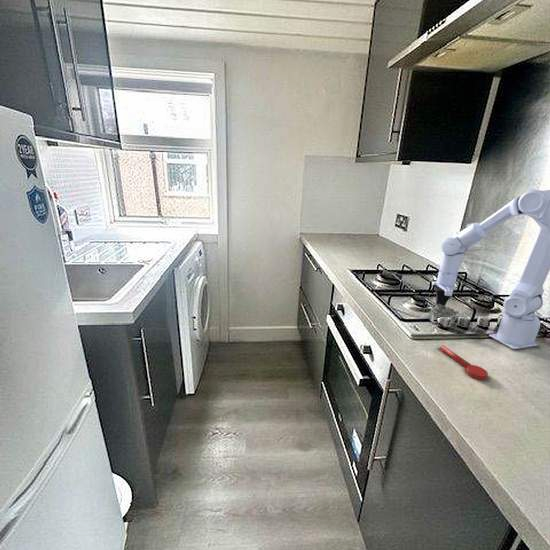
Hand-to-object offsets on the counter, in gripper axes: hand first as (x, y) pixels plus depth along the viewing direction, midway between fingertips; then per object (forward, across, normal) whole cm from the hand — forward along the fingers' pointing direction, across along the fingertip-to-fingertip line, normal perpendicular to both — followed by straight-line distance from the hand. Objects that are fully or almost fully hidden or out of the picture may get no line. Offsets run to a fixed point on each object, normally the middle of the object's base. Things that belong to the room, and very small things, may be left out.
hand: (439, 307), depth 109 cm
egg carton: (+2, +7, 0) cm, 8 cm away
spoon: (+2, +34, 0) cm, 34 cm away
